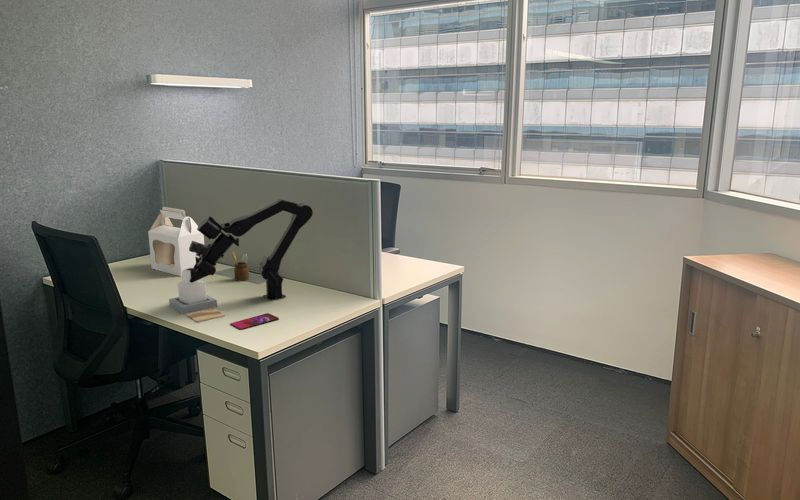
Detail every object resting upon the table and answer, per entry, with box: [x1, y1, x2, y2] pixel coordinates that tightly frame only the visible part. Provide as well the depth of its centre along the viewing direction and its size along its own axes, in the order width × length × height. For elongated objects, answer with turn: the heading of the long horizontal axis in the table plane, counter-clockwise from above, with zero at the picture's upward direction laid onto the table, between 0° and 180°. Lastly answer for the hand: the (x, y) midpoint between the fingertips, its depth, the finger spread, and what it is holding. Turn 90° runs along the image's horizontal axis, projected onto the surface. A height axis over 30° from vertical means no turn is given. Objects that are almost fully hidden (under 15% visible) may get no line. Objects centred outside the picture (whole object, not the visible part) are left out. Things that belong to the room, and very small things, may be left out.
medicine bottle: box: [177, 268, 208, 305], centre depth 217 cm, size 7×7×12 cm
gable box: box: [147, 206, 205, 277], centre depth 265 cm, size 22×13×28 cm, turn 55°
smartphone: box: [230, 312, 280, 331], centre depth 202 cm, size 8×1×15 cm
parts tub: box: [168, 294, 218, 315], centre depth 218 cm, size 13×13×2 cm
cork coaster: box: [185, 307, 226, 323], centre depth 208 cm, size 10×10×1 cm
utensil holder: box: [232, 251, 250, 282], centre depth 252 cm, size 6×6×12 cm
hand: (190, 279), depth 216 cm, fingers closed on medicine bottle, 6 cm apart
